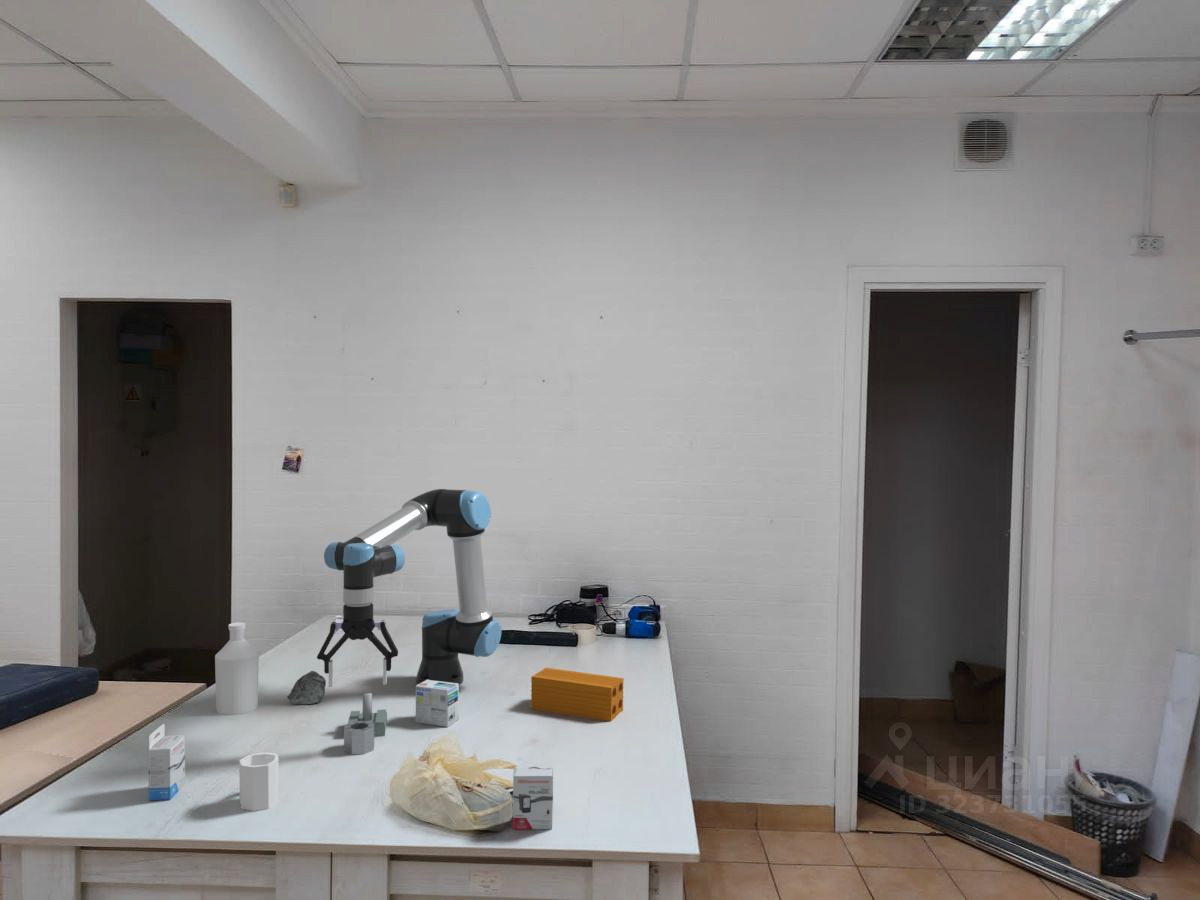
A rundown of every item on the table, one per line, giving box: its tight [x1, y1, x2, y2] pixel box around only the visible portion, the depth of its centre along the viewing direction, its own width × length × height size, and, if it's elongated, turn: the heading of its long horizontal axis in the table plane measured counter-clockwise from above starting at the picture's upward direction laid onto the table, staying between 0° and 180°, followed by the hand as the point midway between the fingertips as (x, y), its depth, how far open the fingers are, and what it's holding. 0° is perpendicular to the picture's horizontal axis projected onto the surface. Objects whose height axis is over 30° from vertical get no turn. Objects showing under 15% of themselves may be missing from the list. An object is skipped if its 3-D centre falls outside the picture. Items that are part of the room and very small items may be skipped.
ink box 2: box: [512, 765, 554, 831], centre depth 181 cm, size 9×5×12 cm, turn 93°
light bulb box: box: [415, 680, 460, 728], centre depth 241 cm, size 11×7×11 cm, turn 71°
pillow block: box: [347, 692, 388, 737], centre depth 233 cm, size 10×10×10 cm
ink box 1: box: [147, 723, 186, 801], centre depth 194 cm, size 9×5×15 cm, turn 5°
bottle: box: [214, 621, 260, 716], centre depth 249 cm, size 12×12×25 cm
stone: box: [286, 670, 327, 706], centre depth 256 cm, size 10×10×10 cm
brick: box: [530, 667, 625, 722], centre depth 251 cm, size 26×10×10 cm, turn 68°
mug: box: [238, 751, 280, 812], centre depth 191 cm, size 12×9×10 cm
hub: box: [343, 721, 375, 756], centre depth 220 cm, size 7×7×6 cm
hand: (358, 684), depth 220 cm, fingers open, 13 cm apart
